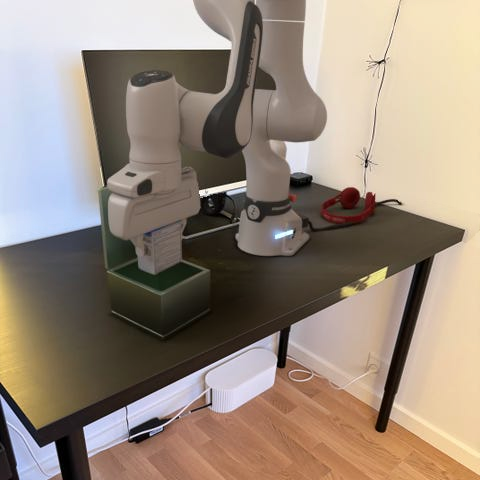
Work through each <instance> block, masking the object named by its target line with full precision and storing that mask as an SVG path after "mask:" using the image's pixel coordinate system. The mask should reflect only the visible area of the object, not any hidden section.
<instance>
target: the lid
mask: <svg viewBox="0 0 480 480" xmlns="http://www.w3.org/2000/svg"><path fill="white" fill-rule="evenodd" d="M112 193H113V192H112V191H110V190H109V189H108V187H107V184H106V185H103V186H102V187H101V188H98V189H97V195H98V203H99V204H98V206H99V217H100V227H101V228H100V229H101V237H102V238H101V239H102V249H103V259H104V261H103V262H104V268H105V269H106V270H111V269H113V268H116V267H118V266H120V265H123V264H125V263H128V262H130V261H132V260H135V259H137V258H138V255H137V254H136V248H135V245H134V244H133V243H132V241H131V240H130V239H129V240H123V239H120V238H118V237H115V236H114V235H113V234H112V233H111V231H110V228H109V219H108V200H109V197H110V195H111V194H112Z"/></svg>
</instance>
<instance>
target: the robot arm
mask: <svg viewBox="0 0 480 480" xmlns="http://www.w3.org/2000/svg"><path fill="white" fill-rule="evenodd" d="M192 2H193V7H194V8H195V11H196V13H197V15H198V16H199V18H200V19H201V21H202V22H203V23H204V24H205V25H206V26H207V27H208V28H209V29H210V30H212V31H213V32H214V33H216V34H217V35H219V36H220V37H223V38H224V39H226V40H227V41H229V42H230V45H231V48H230V55H229V61H228V69H227V74H226V81H225V82H226V83H225V87H224V89H222V90H221V91H220V92H218V93H208V92H199V91H195V90H189V89H188V88H185V87H184V86H182V85H180V84H179V83H178V82H177V80H176V77H175V75H174V74H173V73H172V72H170V71H167V70H162V69H152V70H144V71H139V72H137V73H135V74H134V75H132V76H131V77H130V78H129V80H128V82H127V87H126V93H125V117H126V119H125V120H126V130H127V135H128V138H129V142H130V148H129V154H128V157H129V163H127V164H126V165H124V167H123V168H121V169H120V170H118V171H117V172H116V173H114V174H112V176H110V177H109V178H108V179H107V181H106V185H107V187H108V189H109V190H110V191H112V192H113V193H112V194H111V195H110V197H109V200H108V219H109V228H110V231H111V233H112V234H113V235H114V236H115V237H118V238H120V239H123V240H129V239H130V240H131V241H132V243H133V244H134V245H135V248H136V254H137V255H138V256H141V257H142V256H145V255H147V254H148V246H146V245H143V243H142V242H141V240H142V239H143V234H145V233H148V232H150V231H153V230H156V229H158V228H161V227H164V226H166V225H169V224H172V223H174V222H177V221H180V222H181V241H183V232H184V230H185V228H186V225H187V219H188V218H191V217H193V216H196V215H198V214H199V212H200V210H201V208H200V194H199V186H198V185H199V183H198V180H197V179H198V177H197V172H196V170H195V169H194V168H192V166H190V165H187V166H184V167H182V154H181V151H180V148H185V149H187V150H192V151H198V152H204V153H208V154H210V155H213V156H217V157H220V158H223V159H231V158H234V157H235V156H237V155H238V154H239V153H241V152H242V155H243V159H244V161H245V162H244V163H245V173H246V174H245V176H246V179H245V180H246V182H245V183H246V184H245V187H246V188H245V193H244V197H243V210H242V211H241V213H240V218H239V226H238V233H236V234H235V236H234V238H235V240H236V241H237V247H238V248H239V249H240V250H241V251H242V252H245V253H247V254H250V255H254V256H262V257H274V256H285V257H287V256H289V257H290V256H293V255H295V254H296V253H297V252H298V251H299V250H300V248H301V247H302V246H304V245H305V243H307V242H308V241H309V239H310V235H309V234H308V233H307V232H305V231H304V230H303V229H304V228H308V226H309V230H311V231H312V232H323V231H328V230H331V229H337V228H343V227H349V226H353V225H356V224H357V223H355V222H348V223H343V224H338V223H335V224H332V225H327V226H324V227H319V228H316V227H314V226H313V222H312V221H311V220H310V218H309V216H306V215H303V214H301V213H299V212H296V211H294V210H293V209H292V204H291V203H295V202H296V201H297V197H298V196H297V194H293V193H290V183H291V182H290V181H291V172H292V171H291V166H290V164H289V162H288V161H287V159H286V160H285V159H284V158H283V157H282V156H280V155H278V154H277V153H276V152H275V151H274V150H273V149H272V147H271V144H270V140H277V141H284V142H285V143H286V142H287V143H294V144H295V143H296V144H297V143H308V142H314V141H316V140H317V139H318V138H319V137H321V136H322V134H323V132H324V130H325V129H326V126H327V122H328V111H327V106H326V105H325V102H324V101H323V100H322V98H321V97H320V96H319V95H318V94H317V93H316V92H315V90H314V89H313V88H312V86H311V84H310V82H309V79H308V78H307V75H306V71H305V66H304V36H305V35H304V34H305V24H306V12H307V11H306V10H307V0H192ZM259 69H261V70H262V71H263V72H265V73H266V74H268V75H270V76H271V77H272V79H273V81H274V82H275V89H274V90H273V89H260V88H256V87H257V80H258V74H259V73H258V72H259ZM398 200H399V199H396V198H389V199H384V200H380V201H377V202H376V201H375V207H376V206H380V205H384V204H387V203H396V204H398V205H399V206H402V205H403V202H402V201H400V200H399V201H400V202H399V201H398Z"/></svg>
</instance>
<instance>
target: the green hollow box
mask: <svg viewBox="0 0 480 480" xmlns="http://www.w3.org/2000/svg"><path fill="white" fill-rule="evenodd" d="M106 277H107V286H108V293H109V295H108V296H109V303H110V311H111V316H114V317H115V318H118V319H120V320H122V321H123V322H126V323H127V324H130V325H132V326H133V327H136V328H137V329H140V330H142V331H143V332H146V333H147V334H149V335H151V336H153V337H155V338H158V339H160V340H161V341H165V340H167V339H169V338H170V337H172V336H173V335H175V334H177V333H179V332H181V331H182V330H183V329H185V328H187V327H189V326H190V325H192V324H193V323H195V322H197V321H199V320H200V319H202V318H203V317H205V316H207V315H208V314H210V313H211V270H210V269H208V268H205V267H203V266H201V265H197V264H195V263H192V262H189V261H187V260H185V259H182V261H181V262H179V263H177V264H175V265H173V266H171V267H169V268H167V269H165V270H163V271H161V272H159V273H157V274H155V275H153V274H150V273H148V272H145V271H143V270H141V269H139V266H138V257H137V258H134V259H132V260H129V261H127V262H125V263H122V264H120V265H117V266H115V267H112V268H110V269H107V271H106Z"/></svg>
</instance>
